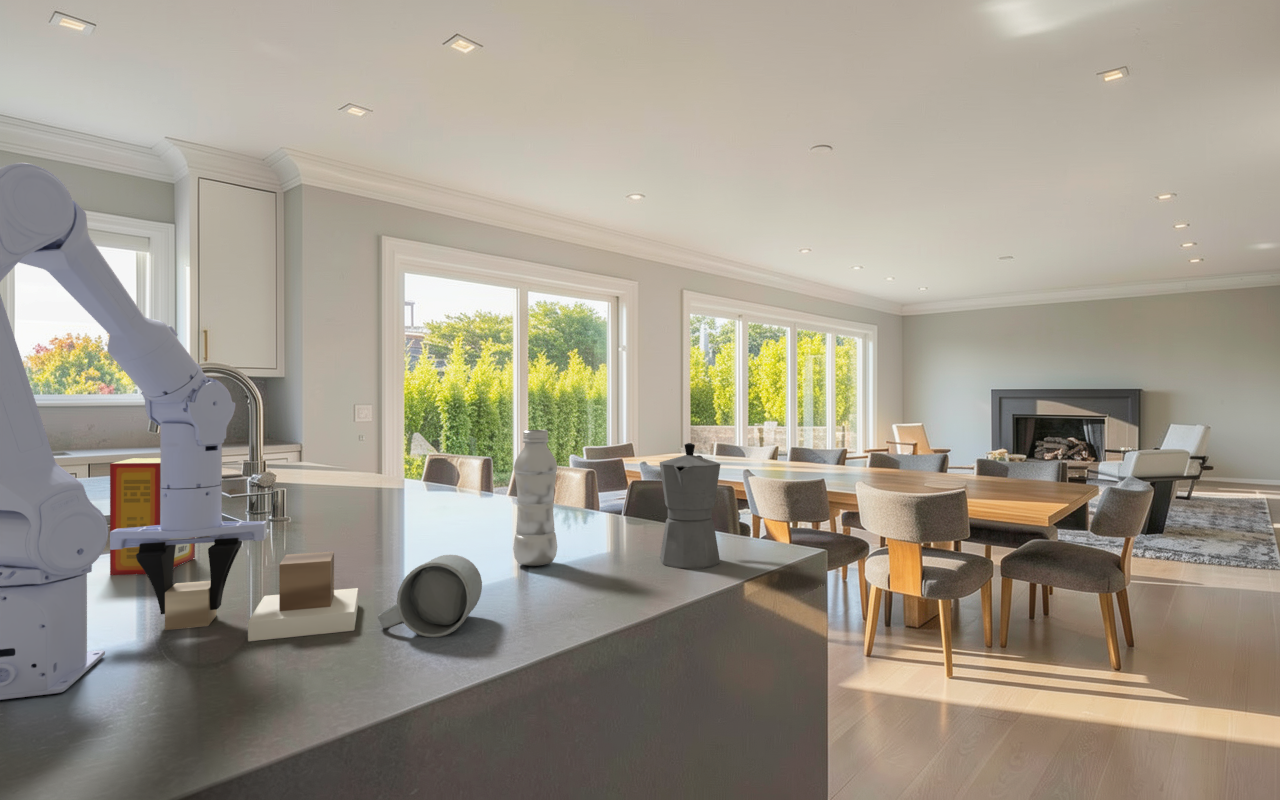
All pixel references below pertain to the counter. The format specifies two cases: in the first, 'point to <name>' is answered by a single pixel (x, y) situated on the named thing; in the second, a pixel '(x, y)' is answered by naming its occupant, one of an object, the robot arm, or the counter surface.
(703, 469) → the coffeepot
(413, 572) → the ceramic mug
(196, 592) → the maple block
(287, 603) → the walnut block
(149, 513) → the baking soda box
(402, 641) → the counter surface
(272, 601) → the base
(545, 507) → the plastic bottle
